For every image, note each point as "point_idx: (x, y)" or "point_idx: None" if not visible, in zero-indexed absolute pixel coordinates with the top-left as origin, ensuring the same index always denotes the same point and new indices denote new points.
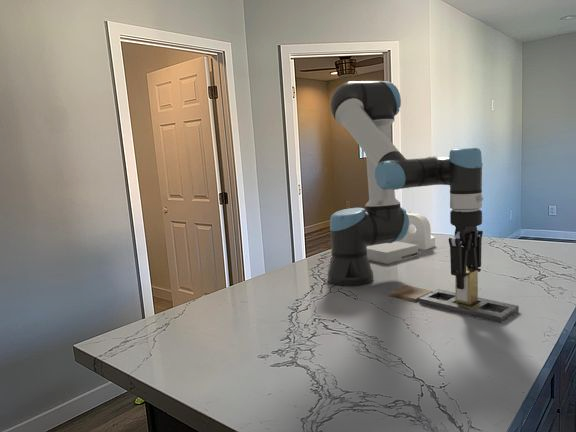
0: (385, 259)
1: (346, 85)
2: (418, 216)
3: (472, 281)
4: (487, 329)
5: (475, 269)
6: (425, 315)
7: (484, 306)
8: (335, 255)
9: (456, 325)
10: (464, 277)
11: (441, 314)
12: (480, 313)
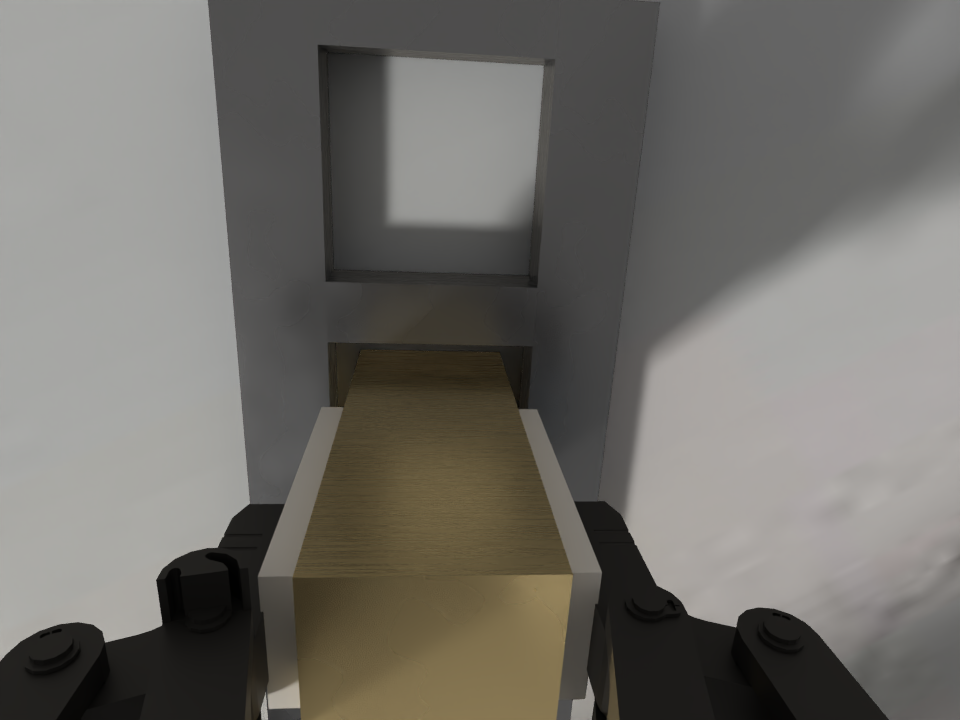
0: None
1: None
2: None
3: (476, 488)
4: (826, 62)
5: (248, 623)
6: (760, 551)
7: (401, 278)
8: None
9: (849, 300)
10: (595, 588)
11: (686, 483)
12: (629, 220)
